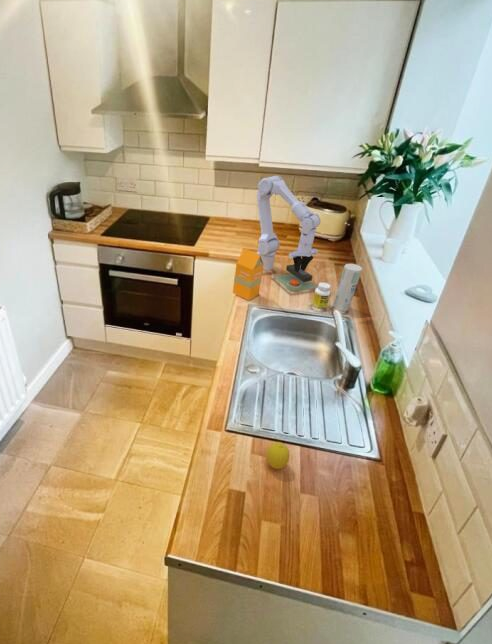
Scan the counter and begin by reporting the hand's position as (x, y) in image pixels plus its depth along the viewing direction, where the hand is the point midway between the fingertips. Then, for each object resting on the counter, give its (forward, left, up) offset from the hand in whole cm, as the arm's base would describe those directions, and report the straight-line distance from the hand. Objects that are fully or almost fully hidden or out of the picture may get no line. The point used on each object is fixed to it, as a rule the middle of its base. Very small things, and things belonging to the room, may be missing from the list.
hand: (299, 270), depth 182 cm
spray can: (+26, +5, -7) cm, 27 cm away
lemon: (+85, -62, -7) cm, 105 cm away
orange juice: (+2, -28, -7) cm, 29 cm away
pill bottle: (+22, -3, -7) cm, 23 cm away
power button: (+6, -6, -4) cm, 9 cm away
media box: (+1, -1, -7) cm, 7 cm away
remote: (0, 0, -2) cm, 3 cm away
